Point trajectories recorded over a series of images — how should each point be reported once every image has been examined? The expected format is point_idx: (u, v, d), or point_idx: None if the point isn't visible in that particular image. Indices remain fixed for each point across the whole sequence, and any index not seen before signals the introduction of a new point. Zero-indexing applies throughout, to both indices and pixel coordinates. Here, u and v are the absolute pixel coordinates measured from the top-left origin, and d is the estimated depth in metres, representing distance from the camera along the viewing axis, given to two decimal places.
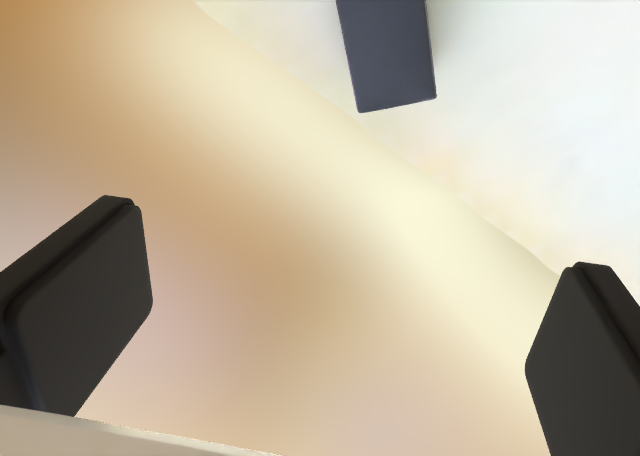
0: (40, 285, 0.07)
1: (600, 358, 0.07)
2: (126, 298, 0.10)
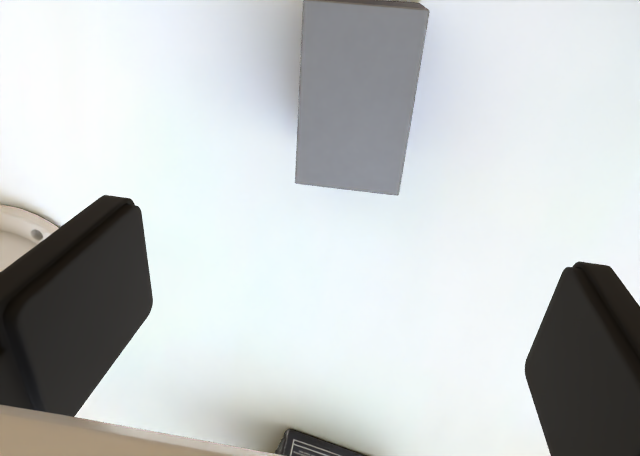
0: (40, 285, 0.07)
1: (600, 358, 0.07)
2: (126, 298, 0.10)
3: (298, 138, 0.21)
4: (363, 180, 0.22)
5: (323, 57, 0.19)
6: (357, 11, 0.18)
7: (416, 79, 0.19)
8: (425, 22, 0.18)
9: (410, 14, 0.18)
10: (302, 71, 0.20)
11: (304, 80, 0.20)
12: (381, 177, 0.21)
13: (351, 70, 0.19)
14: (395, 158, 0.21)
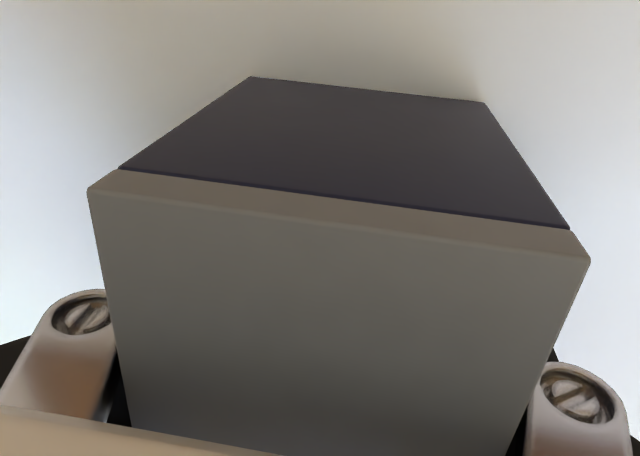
0: None
1: None
2: None
3: None
4: None
5: (188, 355, 0.06)
6: (294, 241, 0.05)
7: (507, 439, 0.06)
8: (568, 298, 0.04)
9: (509, 268, 0.04)
10: (128, 381, 0.06)
11: (139, 400, 0.06)
12: None
13: (284, 395, 0.06)
14: None
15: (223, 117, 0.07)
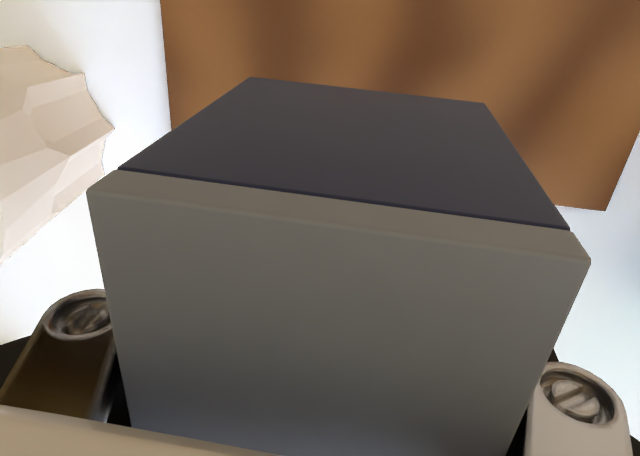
0: None
1: None
2: None
3: None
4: None
5: (188, 356, 0.06)
6: (294, 242, 0.05)
7: (507, 440, 0.06)
8: (569, 299, 0.04)
9: (509, 269, 0.04)
10: (127, 382, 0.06)
11: (139, 401, 0.06)
12: None
13: (284, 396, 0.06)
14: None
15: (223, 117, 0.07)
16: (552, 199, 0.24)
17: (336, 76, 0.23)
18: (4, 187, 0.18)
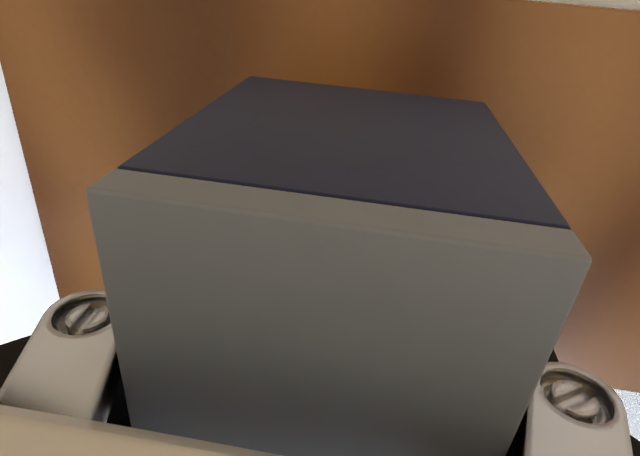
0: None
1: None
2: None
3: None
4: None
5: (188, 355, 0.06)
6: (294, 241, 0.05)
7: (507, 440, 0.06)
8: (569, 298, 0.04)
9: (509, 268, 0.04)
10: (127, 382, 0.06)
11: (139, 401, 0.06)
12: None
13: (284, 396, 0.06)
14: None
15: (223, 116, 0.07)
16: (615, 382, 0.16)
17: None
18: None
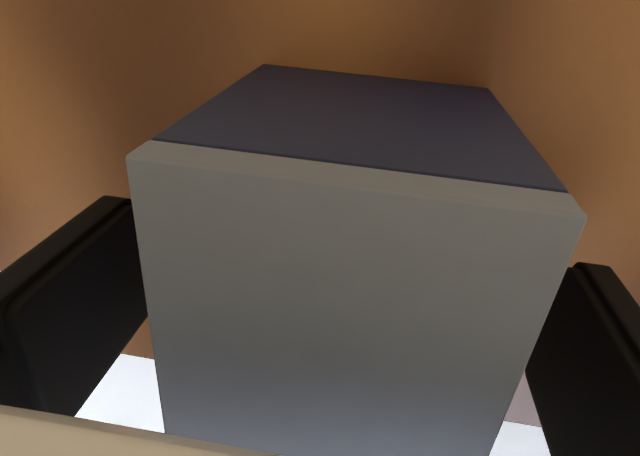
0: (40, 285, 0.07)
1: (600, 358, 0.07)
2: (126, 298, 0.10)
3: None
4: None
5: (214, 314, 0.06)
6: (316, 203, 0.05)
7: (510, 393, 0.06)
8: (567, 253, 0.05)
9: (512, 225, 0.05)
10: (156, 341, 0.06)
11: (166, 360, 0.07)
12: None
13: (303, 353, 0.06)
14: None
15: (242, 98, 0.08)
16: None
17: None
18: None
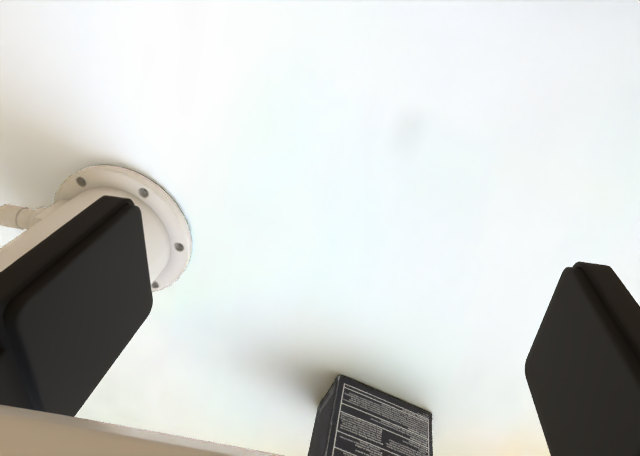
0: (40, 285, 0.07)
1: (600, 358, 0.07)
2: (126, 298, 0.10)
3: None
4: None
5: None
6: None
7: None
8: None
9: None
10: None
11: None
12: None
13: None
14: None
15: None
16: None
17: None
18: None
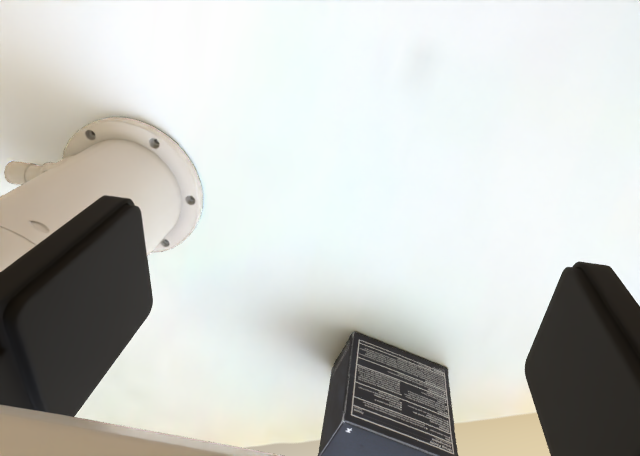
0: (40, 285, 0.07)
1: (600, 358, 0.07)
2: (126, 298, 0.10)
3: None
4: None
5: None
6: None
7: None
8: None
9: None
10: None
11: None
12: None
13: None
14: None
15: None
16: None
17: None
18: None
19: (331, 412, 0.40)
